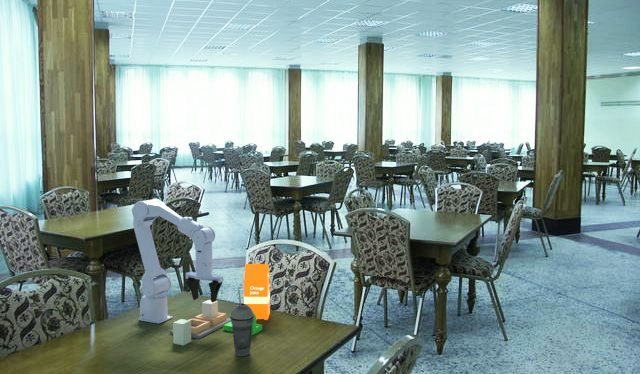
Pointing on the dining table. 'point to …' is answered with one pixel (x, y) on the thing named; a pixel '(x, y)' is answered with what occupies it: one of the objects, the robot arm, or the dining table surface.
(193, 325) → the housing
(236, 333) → the beverage cup
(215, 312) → the grey-green rectangular block
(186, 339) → the sage block
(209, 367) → the dining table surface
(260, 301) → the orange juice
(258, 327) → the mechanical part
